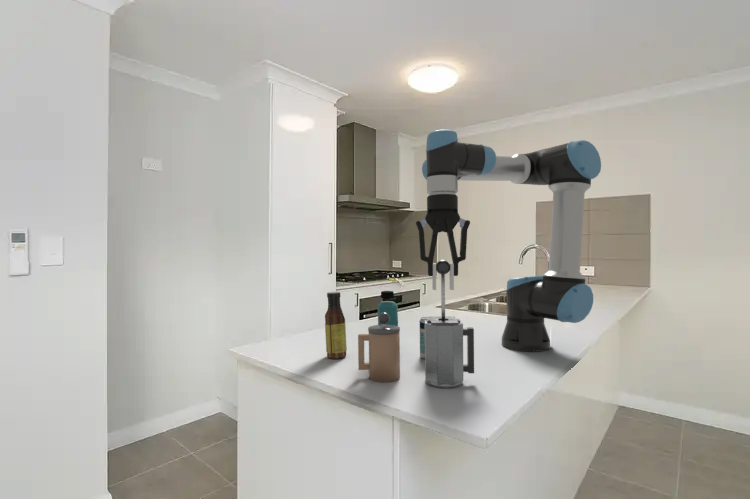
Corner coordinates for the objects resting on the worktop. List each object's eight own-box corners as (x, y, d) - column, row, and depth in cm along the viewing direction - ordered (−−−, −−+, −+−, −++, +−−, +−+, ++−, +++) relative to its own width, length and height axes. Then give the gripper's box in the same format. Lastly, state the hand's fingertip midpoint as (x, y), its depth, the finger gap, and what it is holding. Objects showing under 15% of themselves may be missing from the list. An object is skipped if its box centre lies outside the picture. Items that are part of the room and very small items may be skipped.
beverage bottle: (397, 358, 121) (396, 292, 120) (375, 357, 122) (374, 292, 122) (400, 352, 127) (399, 289, 127) (379, 352, 128) (379, 289, 128)
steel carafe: (470, 376, 104) (470, 316, 104) (476, 389, 95) (476, 323, 95) (424, 375, 105) (424, 316, 105) (426, 388, 96) (425, 323, 96)
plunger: (455, 336, 103) (454, 259, 103) (458, 342, 97) (457, 260, 96) (429, 336, 103) (429, 259, 103) (431, 342, 97) (430, 260, 97)
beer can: (437, 356, 123) (436, 317, 123) (434, 360, 118) (433, 319, 118) (421, 354, 124) (421, 316, 124) (418, 359, 120) (417, 319, 120)
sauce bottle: (350, 355, 125) (349, 291, 125) (340, 360, 119) (339, 293, 119) (332, 352, 128) (331, 290, 128) (321, 358, 122) (320, 293, 122)
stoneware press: (400, 372, 108) (399, 309, 108) (400, 382, 100) (399, 315, 100) (360, 371, 109) (360, 309, 109) (357, 382, 101) (356, 315, 101)
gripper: (473, 195, 102) (474, 287, 103) (408, 197, 104) (409, 287, 104) (479, 192, 95) (479, 291, 95) (408, 193, 96) (409, 291, 97)
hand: (443, 289), depth 100 cm, fingers closed on plunger, 4 cm apart
